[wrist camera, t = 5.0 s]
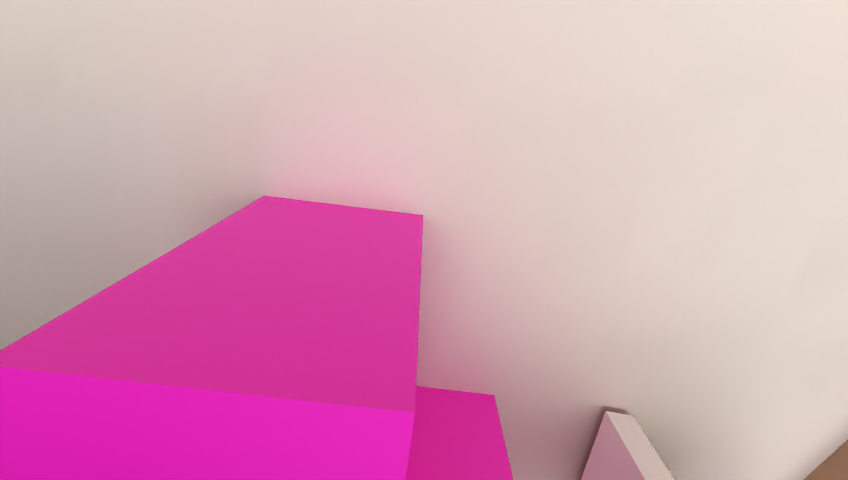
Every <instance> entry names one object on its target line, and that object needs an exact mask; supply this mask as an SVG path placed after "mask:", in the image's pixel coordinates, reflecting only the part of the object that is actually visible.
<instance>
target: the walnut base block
mask: <svg viewBox="0 0 848 480" xmlns="http://www.w3.org/2000/svg"><path fill="white" fill-rule="evenodd" d="M804 480H848V440H847V441H846V442H845V443H844V444H843V445H842V446H840V447H839V448H838V449H837V450H836V451H835V452H834V453H833V454H832V455H831V456H829V457H828V458H827V459H826V460H825V461H824V462H823V463H822V464H821V465H819V466H818V467H817V468H816V469H815V470H814V471H813V472H812V473H811V474H810V475H808V476H807V477H806V478H805V479H804Z"/></svg>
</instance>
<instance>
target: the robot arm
mask: <svg viewBox="0 0 848 480" xmlns="http://www.w3.org/2000/svg"><path fill="white" fill-rule="evenodd" d="M581 480H675V479H674V478H673V476H672V475H671V473H670V472H669V470H668V469H667V467H666V466H665V464H664V463H663V461H662V459H661V458H660V456H659V455H658V453H657V452H656V450H655V449H654V447H653V446H652V444H651V443H650V441H649V439H648V438H647V436H646V435H645V433H644V432H643V430H642V429H641V427H640V426H639V424H638V422H637V421H636V419H635V418H634V416H632V415H626V414H621V413H615V412H609V411H606V412H605V414H604V417H603V420H602V423H601V425H600V428H599V431H598V434H597V436H596V439H595V442H594V445H593V447H592V450H591V453H590V456H589V458H588V461H587V464H586V467H585V470H584V472H583V475H582V478H581Z"/></svg>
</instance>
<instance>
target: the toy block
mask: <svg viewBox="0 0 848 480" xmlns="http://www.w3.org/2000/svg"><path fill="white" fill-rule="evenodd" d="M422 225H423V215H416V214H408V213H400V212H391V211H383V210H375V209H367V208H359V207H351V206H343V205H335V204H327V203H319V202H311V201H302V200H294V199H286V198H278V197H270V196H263V197H262V198H260V199H258V200H257V201H255V202H253V203H251V204H250V205H248V206H246V207H245V208H243V209H241V210H240V211H238V212H236V213H234V214H233V215H231V216H229V217H228V218H226V219H224V220H222V221H221V222H219V223H217V224H216V225H214V226H212V227H211V228H209V229H207V230H205V231H204V232H202V233H200V234H199V235H197V236H195V237H194V238H192V239H190V240H188V241H187V242H185V243H183V244H182V245H180V246H178V247H176V248H175V249H173V250H171V251H170V252H168V253H166V254H165V255H163V256H161V257H159V258H158V259H156V260H154V261H153V262H151V263H149V264H147V265H146V266H144V267H142V268H141V269H139V270H137V271H136V272H134V273H132V274H130V275H129V276H127V277H125V278H124V279H122V280H120V281H118V282H117V283H115V284H113V285H112V286H110V287H108V288H107V289H105V290H103V291H101V292H100V293H98V294H96V295H95V296H93V297H91V298H90V299H88V300H86V301H84V302H83V303H81V304H79V305H78V306H76V307H74V308H72V309H71V310H69V311H67V312H66V313H64V314H62V315H61V316H59V317H57V318H55V319H54V320H52V321H50V322H49V323H47V324H45V325H43V326H42V327H40V328H38V329H37V330H35V331H33V332H32V333H30V334H28V335H26V336H25V337H23V338H21V339H20V340H18V341H16V342H14V343H13V344H11V345H9V346H8V347H6V348H4V349H3V350H1V351H0V480H513V477H512V473H511V468H510V464H509V459H508V455H507V451H506V446H505V442H504V437H503V433H502V428H501V424H500V420H499V415H498V411H497V406H496V402H495V397H494V395H489V394H480V393H471V392H462V391H453V390H444V389H435V388H427V387H418V386H416V375H417V350H418V325H419V300H420V275H421V250H422Z"/></svg>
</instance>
